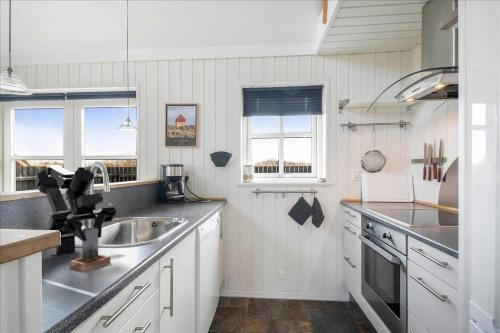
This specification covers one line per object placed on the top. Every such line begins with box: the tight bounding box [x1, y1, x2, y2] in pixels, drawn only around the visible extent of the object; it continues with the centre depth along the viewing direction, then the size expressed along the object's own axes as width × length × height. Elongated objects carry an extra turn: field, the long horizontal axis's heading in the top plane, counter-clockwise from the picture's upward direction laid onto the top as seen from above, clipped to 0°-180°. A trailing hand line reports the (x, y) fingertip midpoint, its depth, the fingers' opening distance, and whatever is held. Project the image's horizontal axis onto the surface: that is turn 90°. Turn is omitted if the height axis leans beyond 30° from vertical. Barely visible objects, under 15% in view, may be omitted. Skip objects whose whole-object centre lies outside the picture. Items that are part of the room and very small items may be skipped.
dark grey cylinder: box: [81, 227, 99, 259], centre depth 83 cm, size 4×4×9 cm
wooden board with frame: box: [69, 253, 126, 272], centre depth 86 cm, size 12×16×3 cm
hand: (92, 238), depth 83 cm, fingers closed on dark grey cylinder, 4 cm apart
